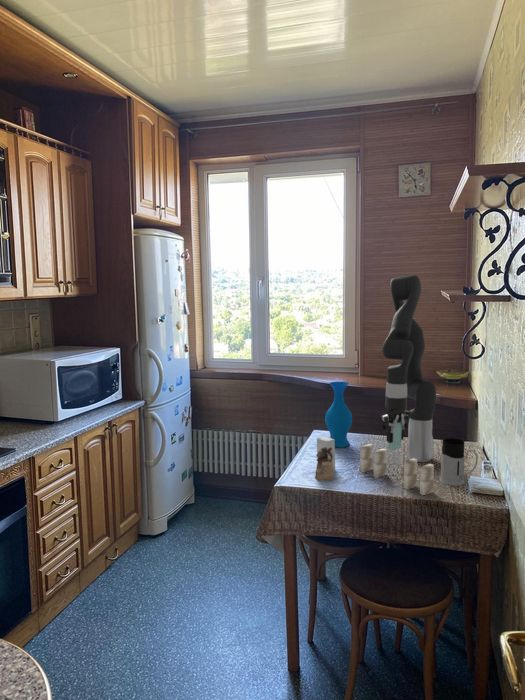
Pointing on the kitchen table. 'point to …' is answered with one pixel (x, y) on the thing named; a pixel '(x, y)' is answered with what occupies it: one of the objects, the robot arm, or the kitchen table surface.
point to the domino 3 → (396, 437)
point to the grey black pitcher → (454, 462)
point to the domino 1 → (366, 457)
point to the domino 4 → (410, 473)
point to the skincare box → (327, 446)
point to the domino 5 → (426, 479)
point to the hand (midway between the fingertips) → (395, 440)
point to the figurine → (324, 465)
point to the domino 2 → (380, 462)
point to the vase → (339, 416)
